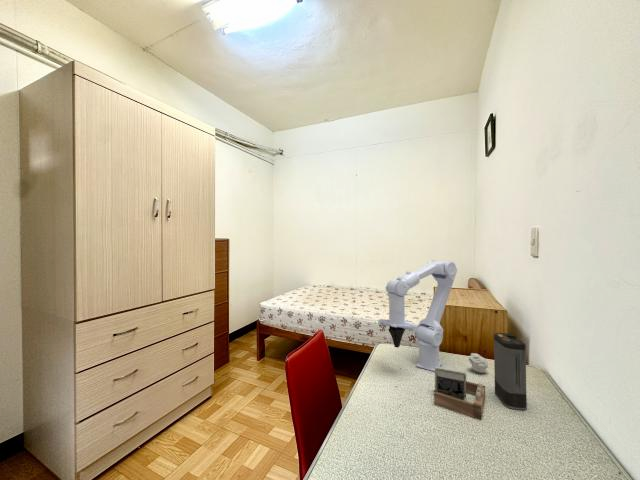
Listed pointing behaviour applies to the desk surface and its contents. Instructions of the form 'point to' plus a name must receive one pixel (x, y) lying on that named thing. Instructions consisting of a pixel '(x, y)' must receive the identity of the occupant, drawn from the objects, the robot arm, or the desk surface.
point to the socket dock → (461, 405)
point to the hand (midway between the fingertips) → (397, 346)
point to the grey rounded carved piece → (478, 363)
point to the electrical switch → (450, 382)
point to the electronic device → (510, 370)
